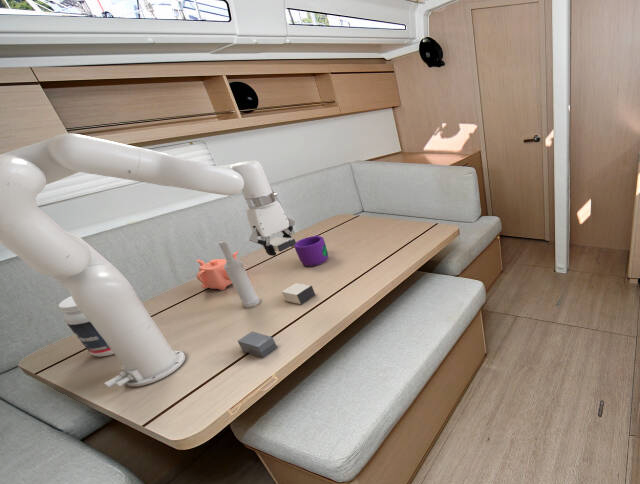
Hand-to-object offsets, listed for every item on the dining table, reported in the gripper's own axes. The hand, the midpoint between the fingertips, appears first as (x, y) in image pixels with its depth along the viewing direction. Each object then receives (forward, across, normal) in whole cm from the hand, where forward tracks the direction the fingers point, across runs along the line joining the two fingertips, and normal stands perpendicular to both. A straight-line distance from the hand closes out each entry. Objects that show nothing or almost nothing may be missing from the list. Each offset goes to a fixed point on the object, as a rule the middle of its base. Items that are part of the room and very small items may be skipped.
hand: (281, 250), depth 119 cm
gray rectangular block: (+20, +24, +12) cm, 33 cm away
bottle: (+20, +8, -15) cm, 26 cm away
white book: (-1, 0, 0) cm, 1 cm away
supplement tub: (+20, +36, -36) cm, 55 cm away
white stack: (+20, 0, 0) cm, 20 cm away
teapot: (+20, 0, -41) cm, 46 cm away
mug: (+20, -26, -20) cm, 38 cm away
